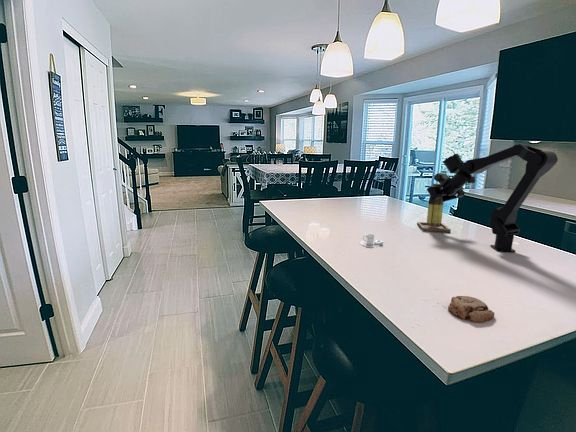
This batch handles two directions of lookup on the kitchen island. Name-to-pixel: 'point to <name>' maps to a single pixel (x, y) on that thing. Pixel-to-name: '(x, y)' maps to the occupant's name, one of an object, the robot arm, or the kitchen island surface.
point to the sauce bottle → (435, 211)
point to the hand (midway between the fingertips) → (433, 202)
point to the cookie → (470, 309)
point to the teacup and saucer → (371, 241)
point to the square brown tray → (425, 227)
